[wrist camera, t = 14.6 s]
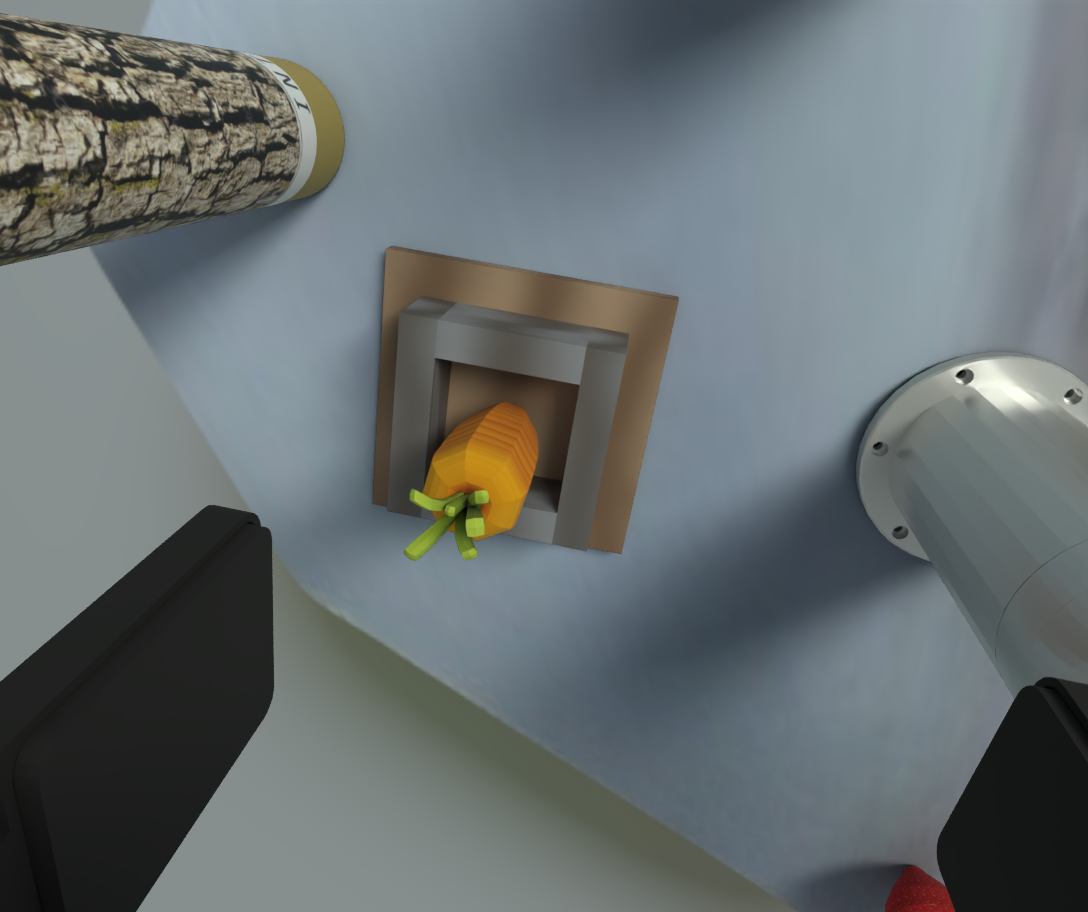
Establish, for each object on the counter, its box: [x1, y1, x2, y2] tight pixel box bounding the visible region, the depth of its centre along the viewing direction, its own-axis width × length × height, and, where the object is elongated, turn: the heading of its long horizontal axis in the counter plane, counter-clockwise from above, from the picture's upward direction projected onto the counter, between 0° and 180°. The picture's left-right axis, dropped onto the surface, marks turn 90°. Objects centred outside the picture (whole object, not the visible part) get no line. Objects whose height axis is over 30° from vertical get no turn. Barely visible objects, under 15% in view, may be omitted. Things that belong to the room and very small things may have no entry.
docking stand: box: [373, 246, 679, 554], centre depth 42 cm, size 16×16×5 cm
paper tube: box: [0, 13, 345, 266], centre depth 28 cm, size 7×7×25 cm
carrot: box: [404, 402, 538, 561], centre depth 36 cm, size 5×5×15 cm
